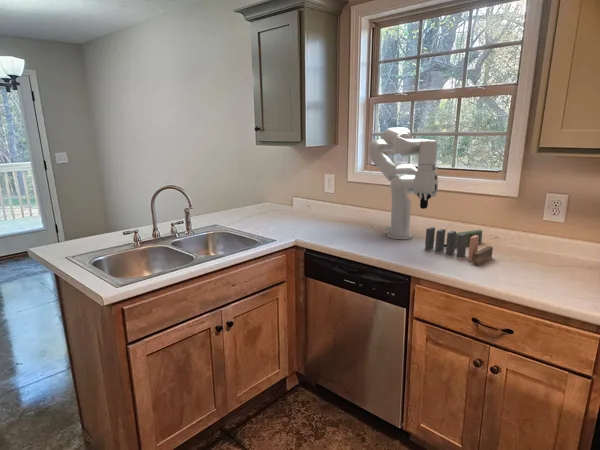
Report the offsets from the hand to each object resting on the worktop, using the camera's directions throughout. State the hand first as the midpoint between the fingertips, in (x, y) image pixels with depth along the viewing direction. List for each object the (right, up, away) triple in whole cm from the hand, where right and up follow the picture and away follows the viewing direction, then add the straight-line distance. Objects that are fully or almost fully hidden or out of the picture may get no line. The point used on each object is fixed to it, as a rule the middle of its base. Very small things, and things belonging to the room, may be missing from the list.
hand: (423, 208), depth 180 cm
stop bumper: (+20, -23, -16) cm, 34 cm away
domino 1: (+3, -19, +2) cm, 19 cm away
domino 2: (+6, -20, -2) cm, 21 cm away
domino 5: (+17, -22, -13) cm, 31 cm away
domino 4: (+13, -21, -9) cm, 27 cm away
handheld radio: (+20, -18, +7) cm, 27 cm away
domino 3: (+10, -21, -5) cm, 23 cm away
